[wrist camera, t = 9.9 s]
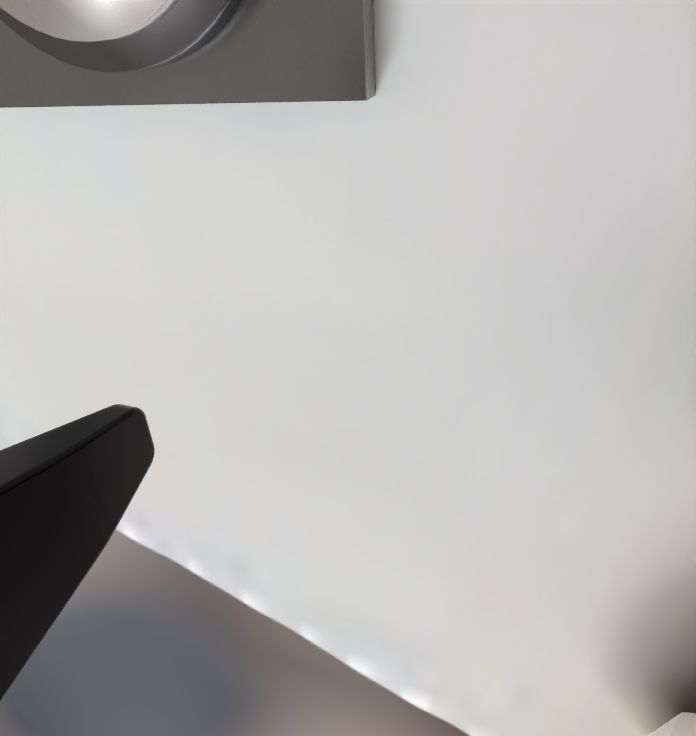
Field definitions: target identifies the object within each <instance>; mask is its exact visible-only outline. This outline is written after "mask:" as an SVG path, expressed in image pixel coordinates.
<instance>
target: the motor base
mask: <svg viewBox="0 0 696 736" xmlns="http://www.w3.org/2000/svg"><path fill="white" fill-rule="evenodd" d="M373 96H375V64H374V25H373V0H0V108H3V107H53V106H104V105H154V104H205V103H256V102H306V101H357V100H368V99H370V98H371V97H373Z"/></svg>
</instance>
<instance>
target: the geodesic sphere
mask: <svg viewBox="0 0 696 736" xmlns="http://www.w3.org/2000/svg"><path fill="white" fill-rule="evenodd" d="M647 736H696V713H685V712H681V713H680V714H678V715H677V716H675V717H674V718H673V719H671V720H670V721H668V722H667V723H665V724H664V725H662V726H661V727H659V728H658V729H656V730H655V731H653V732H652V733H650V734H649V735H647Z"/></svg>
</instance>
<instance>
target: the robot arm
mask: <svg viewBox="0 0 696 736" xmlns="http://www.w3.org/2000/svg"><path fill="white" fill-rule="evenodd" d="M153 457H154V444H153V441H152V437H151V434H150V430H149V427H148V423H147V420H146V416H145V414H144V412H143V411H142V410H141V409H139V408H137V407H132V406H127V405H121V404H117V405H112V406H110V407H107V408H105V409H102V410H100V411H97V412H95V413H92V414H90V415H87V416H85V417H82V418H80V419H78V420H75V421H73V422H70V423H68V424H65V425H63V426H60V427H58V428H55V429H53V430H50V431H48V432H45V433H43V434H40V435H38V436H35V437H33V438H30V439H28V440H25V441H23V442H20V443H18V444H15V445H13V446H10V447H8V448H5V449H3V450H0V701H1V699H2V698H3V696H4V695H5V693H6V692H7V690H8V689H9V688H10V686H11V684H12V683H13V682H14V680H15V679H16V677H17V676H18V674H19V673H20V671H21V670H22V668H23V667H24V666H25V664H26V663H27V661H28V659H29V658H30V657H31V655H32V654H33V652H34V651H35V649H36V648H37V646H38V645H39V643H40V642H41V641H42V639H43V638H44V636H45V635H46V633H47V632H48V630H49V629H50V627H51V626H52V624H53V623H54V621H55V620H56V618H57V617H58V616H59V614H60V612H61V611H62V609H63V608H64V607H65V605H66V604H67V602H68V601H69V599H70V598H71V597H72V595H73V594H74V592H75V590H76V589H77V588H78V586H79V585H80V583H81V582H82V580H83V579H84V577H85V576H86V574H87V573H88V572H89V570H90V568H91V567H92V566H93V564H94V563H95V561H96V560H97V558H98V557H99V555H100V554H101V552H102V551H103V549H104V547H105V546H106V544H107V543H108V541H109V539H110V538H111V536H112V534H113V532H114V531H115V529H116V527H117V525H118V524H119V522H120V520H121V518H122V516H123V514H124V513H125V511H126V509H127V507H128V505H129V503H130V502H131V500H132V498H133V496H134V494H135V493H136V491H137V489H138V487H139V485H140V483H141V482H142V480H143V478H144V476H145V474H146V472H147V471H148V469H149V467H150V465H151V463H152V461H153Z"/></svg>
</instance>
